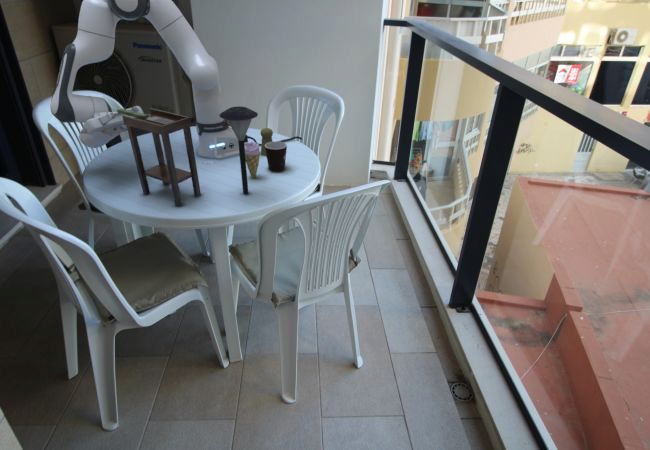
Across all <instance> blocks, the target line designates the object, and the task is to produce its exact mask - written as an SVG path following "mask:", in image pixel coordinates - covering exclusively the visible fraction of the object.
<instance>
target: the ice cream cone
mask: <svg viewBox="0 0 650 450" xmlns="http://www.w3.org/2000/svg"><path fill="white" fill-rule="evenodd" d="M256 142H257V141H256ZM256 142H254V141H253V140H252V141H248V142H246V146H245V159H246V167H247V169H248V172H249V174H250V177H251V179H256V177H257V172H258V169H259V164H260V157H261V156H260V155H261V150H260V146H259V144H260V143H258V142H257V144H256Z"/></svg>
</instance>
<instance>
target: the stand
mask: <svg viewBox="0 0 650 450" xmlns="http://www.w3.org/2000/svg"><path fill="white" fill-rule="evenodd" d="M148 109H149V113H147V114H146V113H145V114H146V115H148V117H150V118H151V117H154V116H156V117H160V118H164V119H168V120H172V121H175V122H172V123H169V124H166V125H159V124H155V123H151V122H147V121H146V119H140V118H132V117H128V116H122V117H123V121H124V125H127V130H126V131H127V133H128V137H129V142H130V145H131V149H132V153H133V157H134V161H135V166H136V170H137V174H138V178H139V181H140V185H141V191H142V194H143V195H145V196H148V195H150V194H151V190H150V187H149V182H148V178H147V177H149V178H151V179H154V180H157V181H160V182H162V185H163V186H165V187H167V186H169V185H170V186H171V191H172V195H173V200H174V206H175V207H178V208H180V207H181V206H183V202H182V201H183V200H182V197H181V192H180V186H179V184H182V182H185V181H187V180H190V179H191V183H192V184H191V185H192V189H193V195H194V197H197V198H198V197H200V196H202V192H201V187H200V182H199V175H198V174H199V173H198V168H197V167H198V166H197V162H196V156H195V150H194V141H193V136H192V131H191V127H192V118H191V116H186V115H182V114H179V113H174V112H169V111H165V110H160V109H157V108H153V107H149V108H148ZM136 129H139V130H142V131H146V132H150V133H151V135H152V140H153V144H154V150H155V154H156V158H157V159H156V160H157V163H158V164H157V165H153V166H152V167H150V168H149V167H148V168H147V169H146V168H145V165H144V161H143V157H142V153H141V149H140V148H141V147H140V145H139V140H138V136H137V132H136ZM182 130H183V136H184V137H183V138H184V143H185V149H186V155H187V160H188V165H189V171H188V170H185V169H181V168H178V167H176V165H175V159H174V155H173V149H172V144H171V139H170V134H173V133H176V132H178V131H182ZM160 136H161V137H160ZM162 146H163V147H162ZM163 150H164V151H163Z"/></svg>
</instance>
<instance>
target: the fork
mask: <svg viewBox="0 0 650 450" xmlns="http://www.w3.org/2000/svg"><path fill="white" fill-rule="evenodd" d="M126 109H127V108H117V109H116V112H118V113H120V114H124V115H128V116H132V117H136V118H140V119H146V121H147V122H151V123H155V124H159V125H166V124H169V123H172V122H175V121H172V120H168V119H164V118H160V117H156V116H154V117H151V118H150V117H148V115H146V113H144V114H142V113H138V112H134V111H130V110H126Z"/></svg>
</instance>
